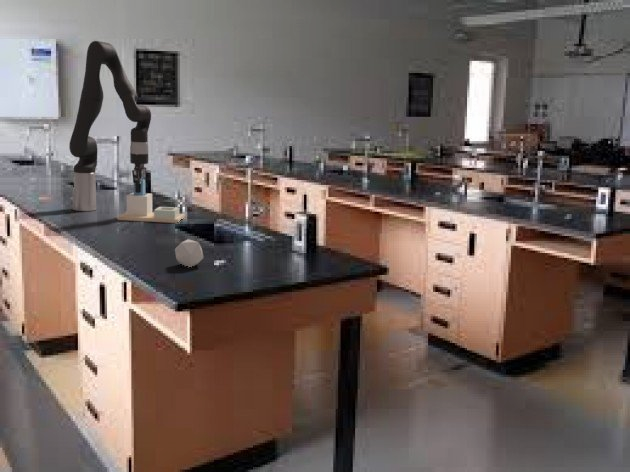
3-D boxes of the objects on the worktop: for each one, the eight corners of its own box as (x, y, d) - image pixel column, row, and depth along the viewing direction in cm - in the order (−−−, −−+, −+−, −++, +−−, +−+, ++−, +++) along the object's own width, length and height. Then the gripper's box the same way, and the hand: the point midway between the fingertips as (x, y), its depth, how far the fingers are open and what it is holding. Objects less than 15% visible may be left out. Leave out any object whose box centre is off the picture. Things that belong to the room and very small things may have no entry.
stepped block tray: (117, 219, 272) (117, 196, 270) (127, 214, 286) (127, 192, 284) (178, 223, 272) (178, 199, 270) (185, 217, 286) (185, 195, 284)
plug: (133, 202, 278) (133, 180, 276) (136, 201, 282) (136, 178, 280) (142, 203, 278) (142, 180, 276) (145, 202, 282) (145, 179, 280)
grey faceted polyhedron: (183, 262, 210) (167, 241, 204) (207, 250, 210) (192, 228, 204) (185, 278, 203) (169, 256, 197) (210, 265, 203) (195, 243, 197)
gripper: (135, 150, 282) (135, 189, 286) (125, 153, 268) (126, 193, 272) (152, 151, 282) (152, 190, 286) (143, 154, 268) (143, 194, 272)
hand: (139, 191), depth 279 cm, fingers closed on plug, 4 cm apart
